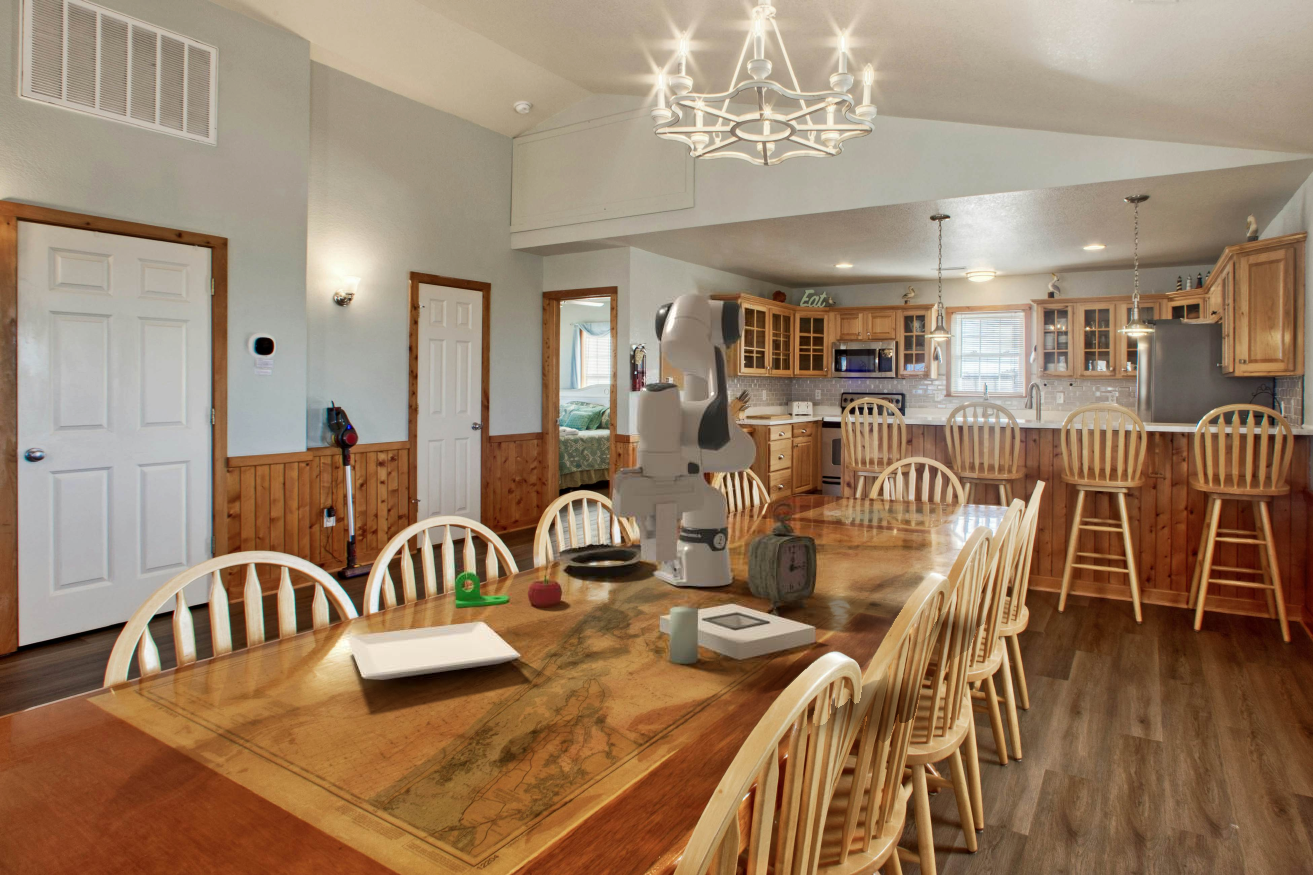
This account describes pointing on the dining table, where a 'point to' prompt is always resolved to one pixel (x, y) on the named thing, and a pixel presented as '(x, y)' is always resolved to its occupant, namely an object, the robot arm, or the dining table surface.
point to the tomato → (544, 593)
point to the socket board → (746, 631)
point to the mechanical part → (474, 593)
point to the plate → (428, 650)
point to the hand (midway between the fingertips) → (659, 537)
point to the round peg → (684, 635)
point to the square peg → (661, 534)
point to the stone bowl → (602, 553)
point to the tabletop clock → (782, 564)
